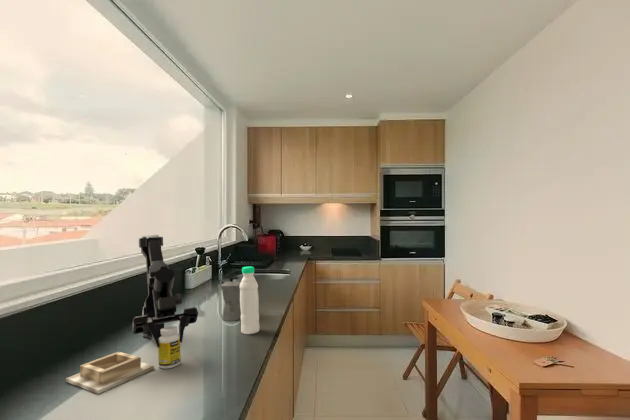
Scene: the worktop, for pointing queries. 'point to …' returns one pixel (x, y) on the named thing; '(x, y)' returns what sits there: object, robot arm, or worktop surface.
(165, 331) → the pill bottle
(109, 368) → the socket
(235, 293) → the coffeepot
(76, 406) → the worktop surface
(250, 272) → the water bottle
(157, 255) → the robot arm
